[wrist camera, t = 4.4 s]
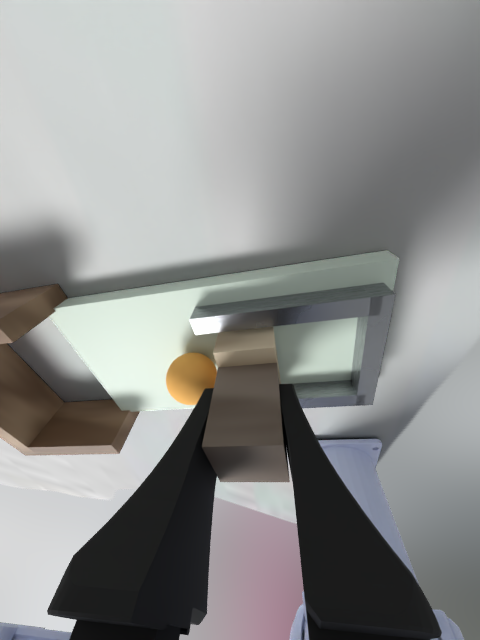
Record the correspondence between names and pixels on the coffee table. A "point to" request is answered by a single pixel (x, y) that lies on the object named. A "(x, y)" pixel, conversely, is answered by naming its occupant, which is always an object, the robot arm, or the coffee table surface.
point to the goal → (48, 392)
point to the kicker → (246, 410)
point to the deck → (179, 338)
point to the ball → (190, 377)
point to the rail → (313, 307)
